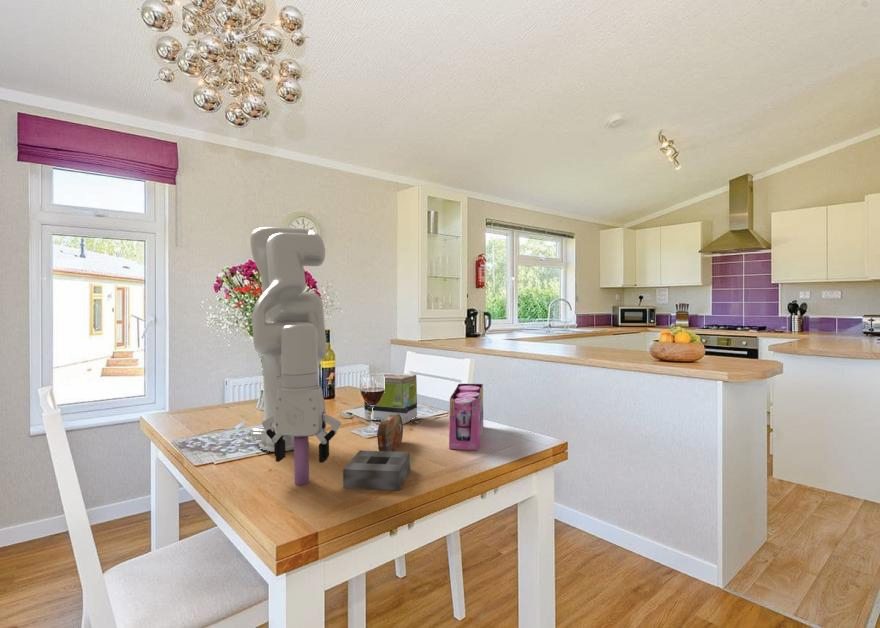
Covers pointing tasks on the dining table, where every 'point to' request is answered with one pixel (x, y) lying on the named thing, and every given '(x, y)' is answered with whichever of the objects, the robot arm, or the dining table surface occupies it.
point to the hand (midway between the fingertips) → (301, 460)
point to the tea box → (396, 398)
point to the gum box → (466, 417)
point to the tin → (390, 433)
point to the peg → (301, 460)
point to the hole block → (377, 470)
